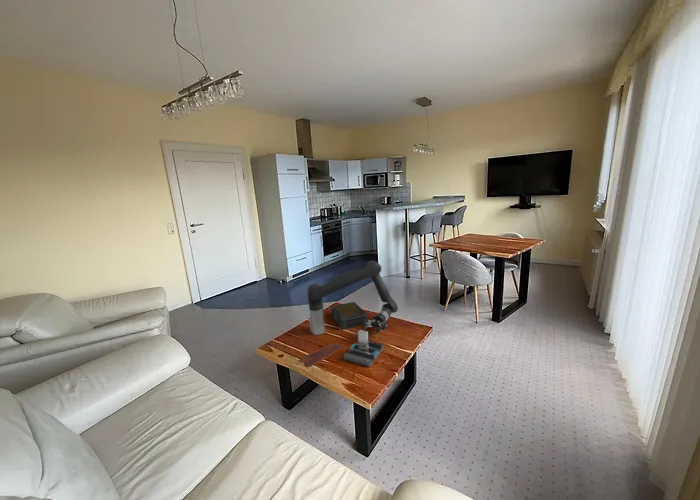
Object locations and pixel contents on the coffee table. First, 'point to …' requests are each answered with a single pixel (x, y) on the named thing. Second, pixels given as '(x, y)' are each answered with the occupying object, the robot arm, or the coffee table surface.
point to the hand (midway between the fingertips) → (370, 329)
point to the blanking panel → (363, 340)
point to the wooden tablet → (320, 354)
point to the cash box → (348, 315)
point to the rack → (364, 353)
